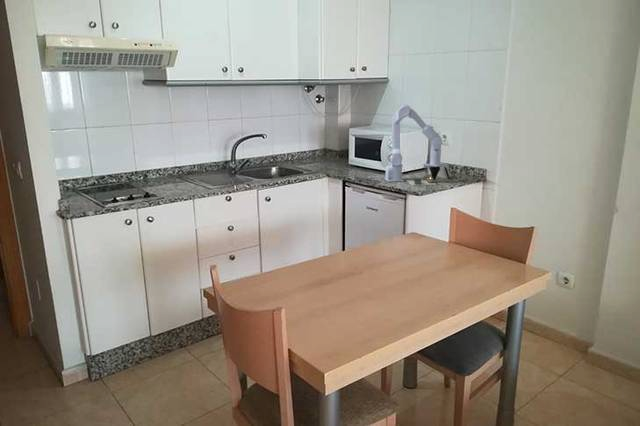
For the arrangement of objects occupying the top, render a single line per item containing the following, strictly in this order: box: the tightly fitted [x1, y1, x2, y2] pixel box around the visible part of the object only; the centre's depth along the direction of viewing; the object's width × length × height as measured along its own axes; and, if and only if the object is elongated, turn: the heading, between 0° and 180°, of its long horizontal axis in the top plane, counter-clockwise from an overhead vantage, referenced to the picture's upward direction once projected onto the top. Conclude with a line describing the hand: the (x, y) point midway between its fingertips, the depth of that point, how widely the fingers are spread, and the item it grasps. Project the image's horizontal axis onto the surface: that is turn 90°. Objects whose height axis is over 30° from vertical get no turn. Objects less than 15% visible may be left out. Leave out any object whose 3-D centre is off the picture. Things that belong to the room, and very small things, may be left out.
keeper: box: [412, 176, 422, 184], centre depth 278 cm, size 4×6×3 cm, turn 6°
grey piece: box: [427, 161, 453, 179], centre depth 300 cm, size 17×5×10 cm, turn 28°
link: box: [423, 175, 435, 183], centre depth 284 cm, size 12×4×2 cm, turn 6°
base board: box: [406, 178, 437, 187], centre depth 282 cm, size 14×13×1 cm
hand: (433, 179), depth 284 cm, fingers closed
